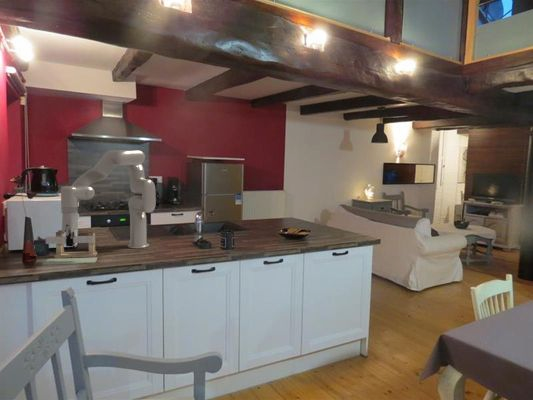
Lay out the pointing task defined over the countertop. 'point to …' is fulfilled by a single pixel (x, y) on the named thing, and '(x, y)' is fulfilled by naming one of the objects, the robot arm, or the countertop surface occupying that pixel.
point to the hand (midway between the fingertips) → (70, 245)
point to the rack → (62, 254)
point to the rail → (75, 238)
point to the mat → (69, 261)
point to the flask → (41, 247)
